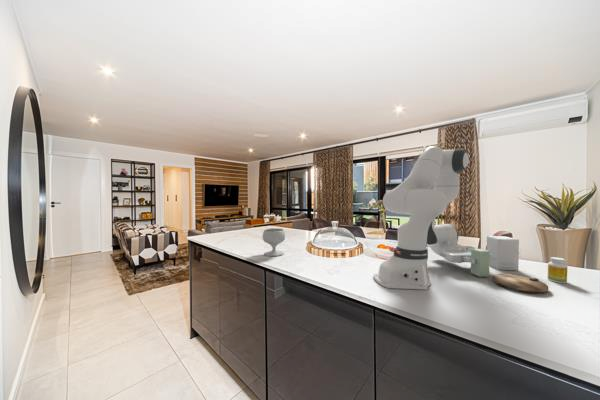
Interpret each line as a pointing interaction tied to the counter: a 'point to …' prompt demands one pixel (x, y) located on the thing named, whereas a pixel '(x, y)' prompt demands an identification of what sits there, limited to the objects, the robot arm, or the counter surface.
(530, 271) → the counter surface
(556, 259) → the supplement bottle
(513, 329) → the counter surface
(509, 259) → the supplement box
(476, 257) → the spindle block
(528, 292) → the base
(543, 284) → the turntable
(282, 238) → the chalice
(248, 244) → the counter surface
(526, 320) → the counter surface
